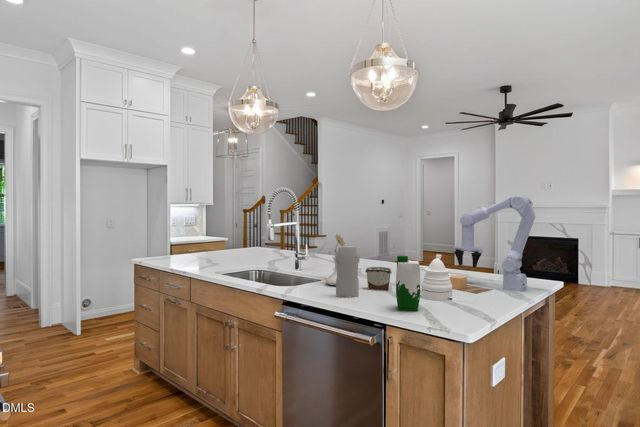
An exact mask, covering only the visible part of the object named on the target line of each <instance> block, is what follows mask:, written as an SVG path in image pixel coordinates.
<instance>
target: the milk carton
mask: <svg viewBox="0 0 640 427" xmlns="http://www.w3.org/2000/svg"><path fill="white" fill-rule="evenodd" d="M420 269H421V267H420V262H419V261H418V260H411V259H410V260H409V257H408V255H397V258H396V271H395V272H396V273H395V274H396V275H395V297H396V304H397V310H398V311H402V312H403V311H405V312H419V307H420V299H421V270H420Z"/></svg>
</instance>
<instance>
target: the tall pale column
mask: <svg viewBox="0 0 640 427" xmlns="http://www.w3.org/2000/svg"><path fill="white" fill-rule="evenodd" d="M337 249H338V250H337V251H336V252H337V253H336V252H335V255H334V256H335V261H336V263H337V279H336V285H335V297H337V298H358V297H359V293H360V292H359V289H360V288H359V285H360V284H359V281H360V280H359V277H358V275H359V263H360V261H361V260H360V257H361V255H360V253H359V252H358V248H357V246H352V245H349V244H348V245H345V246H338V248H337Z"/></svg>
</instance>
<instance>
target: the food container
mask: <svg viewBox="0 0 640 427" xmlns="http://www.w3.org/2000/svg"><path fill="white" fill-rule="evenodd" d="M364 273H366V280H367V290H370V291H381V292H389V290H390V281H391V275H392V273H393V271H392V269H391V267H390V268H389V267H384V266H370V267H366V268H365V272H364Z"/></svg>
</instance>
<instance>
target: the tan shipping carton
mask: <svg viewBox="0 0 640 427" xmlns="http://www.w3.org/2000/svg"><path fill="white" fill-rule="evenodd" d="M449 277H450V281H451V284H452V288H454V289H465V288H467V285H468V284H467V281H468V278H467V277H466V276H462V275H452V276H451V275H450V276H449ZM454 289H453V290H454Z"/></svg>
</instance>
